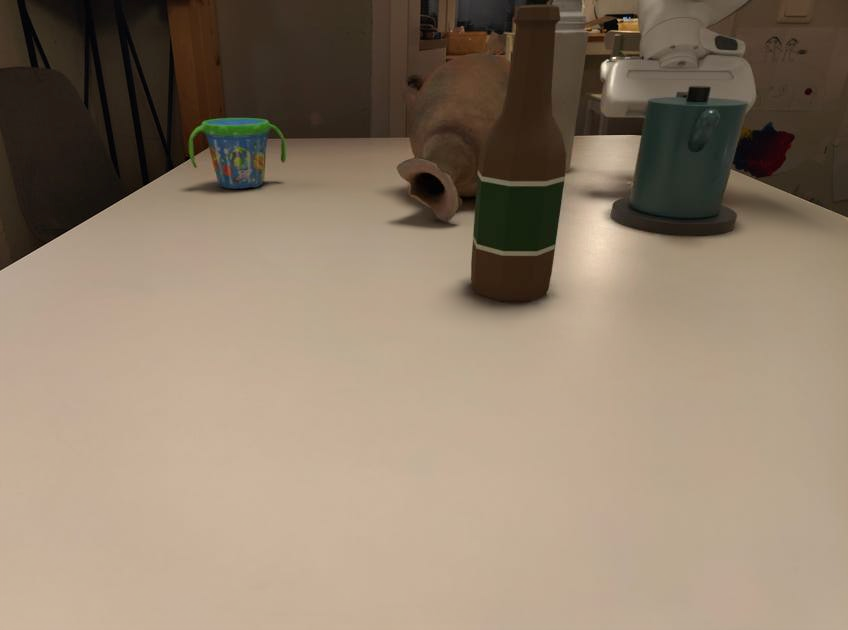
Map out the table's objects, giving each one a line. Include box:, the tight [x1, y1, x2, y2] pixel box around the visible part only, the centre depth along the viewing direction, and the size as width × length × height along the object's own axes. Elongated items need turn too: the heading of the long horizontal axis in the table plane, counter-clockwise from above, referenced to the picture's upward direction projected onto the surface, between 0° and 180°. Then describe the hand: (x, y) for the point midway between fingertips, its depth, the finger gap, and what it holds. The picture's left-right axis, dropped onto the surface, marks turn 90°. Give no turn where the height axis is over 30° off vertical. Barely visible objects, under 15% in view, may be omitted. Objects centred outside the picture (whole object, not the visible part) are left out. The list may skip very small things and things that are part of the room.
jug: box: [396, 52, 511, 223], centre depth 88 cm, size 20×20×30 cm
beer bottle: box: [470, 4, 566, 302], centre depth 54 cm, size 8×8×24 cm
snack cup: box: [188, 117, 287, 190], centre depth 100 cm, size 16×10×10 cm
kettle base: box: [610, 196, 738, 237], centre depth 81 cm, size 15×15×2 cm
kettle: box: [629, 86, 748, 218], centre depth 78 cm, size 21×11×15 cm, turn 165°
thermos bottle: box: [551, 0, 589, 173], centre depth 106 cm, size 8×8×28 cm
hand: (678, 139), depth 86 cm, fingers open, 3 cm apart
